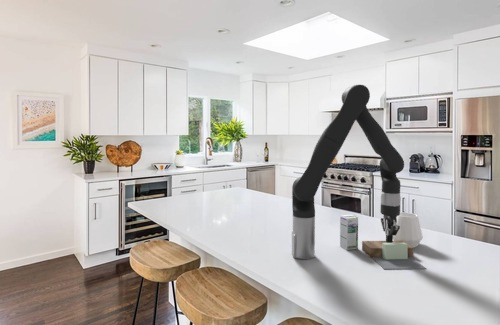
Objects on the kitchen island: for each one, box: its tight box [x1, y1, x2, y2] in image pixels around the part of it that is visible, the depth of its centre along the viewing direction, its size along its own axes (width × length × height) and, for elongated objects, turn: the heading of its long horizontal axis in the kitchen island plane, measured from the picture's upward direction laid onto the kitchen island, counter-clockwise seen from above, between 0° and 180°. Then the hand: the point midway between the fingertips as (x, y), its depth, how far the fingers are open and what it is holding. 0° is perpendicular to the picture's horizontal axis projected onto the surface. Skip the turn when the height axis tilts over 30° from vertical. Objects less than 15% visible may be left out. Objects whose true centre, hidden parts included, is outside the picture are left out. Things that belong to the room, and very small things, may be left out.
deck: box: [361, 240, 415, 259], centre depth 135 cm, size 18×9×4 cm, turn 90°
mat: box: [372, 257, 427, 270], centre depth 125 cm, size 16×11×1 cm
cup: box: [393, 211, 423, 248], centre depth 146 cm, size 13×13×14 cm
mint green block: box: [382, 243, 408, 260], centre depth 129 cm, size 9×6×3 cm
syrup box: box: [339, 214, 359, 251], centre depth 142 cm, size 6×6×14 cm
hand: (389, 243), depth 133 cm, fingers closed
